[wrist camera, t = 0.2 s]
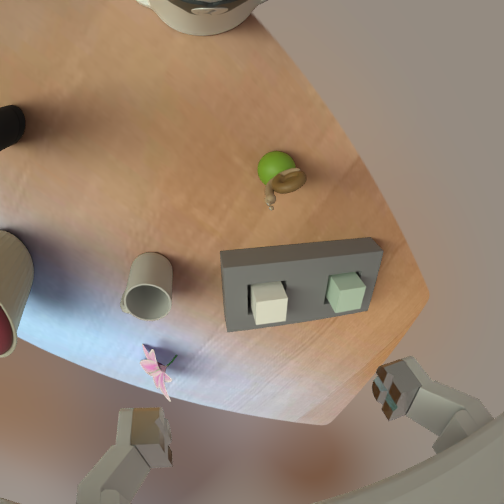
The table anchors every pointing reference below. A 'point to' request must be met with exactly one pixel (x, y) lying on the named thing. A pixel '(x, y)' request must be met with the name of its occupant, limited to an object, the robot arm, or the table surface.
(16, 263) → the canister
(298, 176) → the snail figurine
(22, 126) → the wine bottle
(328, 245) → the key console
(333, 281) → the pale green cube
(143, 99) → the table surface
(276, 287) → the white key
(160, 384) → the lily
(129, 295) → the cup
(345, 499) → the robot arm
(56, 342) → the table surface
